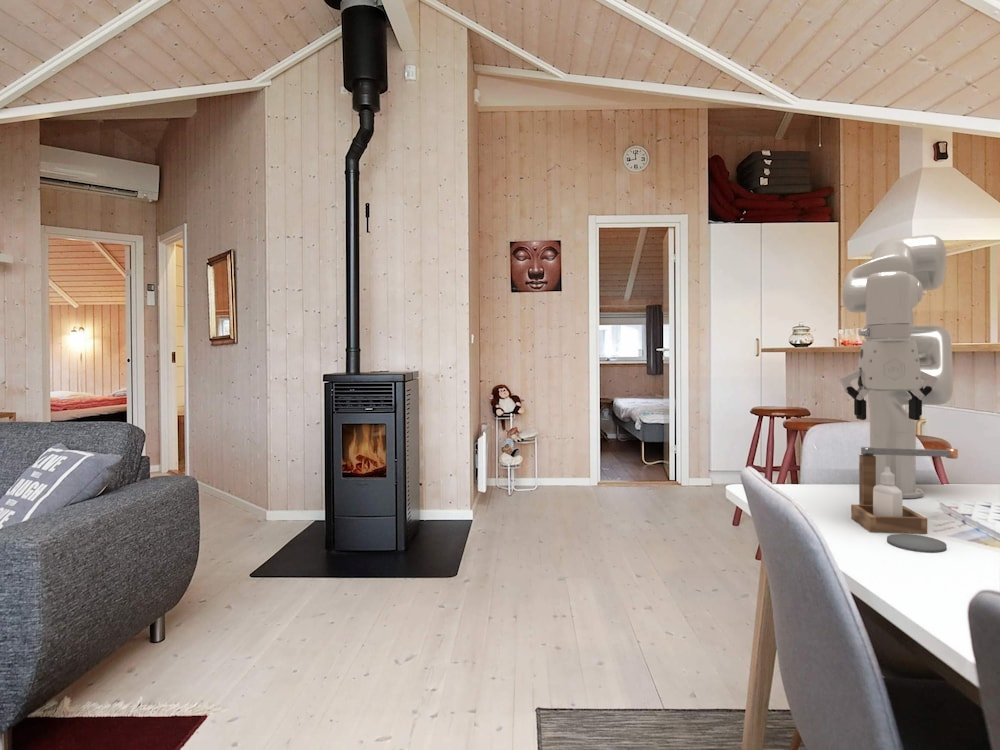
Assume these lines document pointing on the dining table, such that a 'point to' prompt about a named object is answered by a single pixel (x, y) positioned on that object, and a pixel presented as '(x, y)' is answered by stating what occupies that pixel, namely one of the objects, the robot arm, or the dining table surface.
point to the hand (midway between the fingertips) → (887, 419)
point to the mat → (916, 543)
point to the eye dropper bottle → (887, 496)
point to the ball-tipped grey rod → (910, 452)
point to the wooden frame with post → (864, 510)
